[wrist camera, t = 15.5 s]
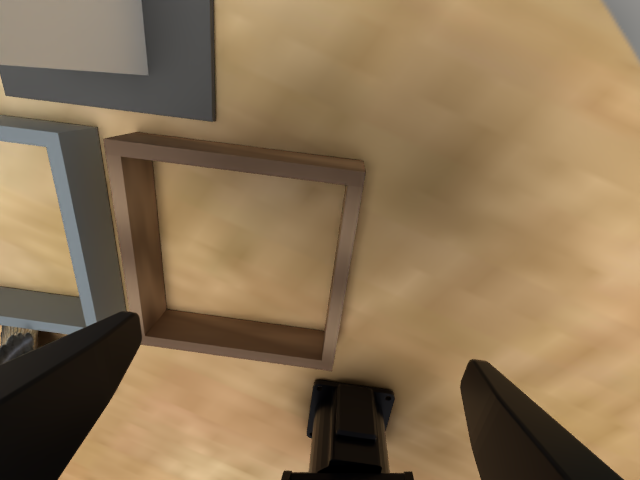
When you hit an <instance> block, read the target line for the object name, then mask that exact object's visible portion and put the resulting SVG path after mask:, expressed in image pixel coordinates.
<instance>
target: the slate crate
mask: <svg viewBox="0 0 640 480" xmlns="http://www.w3.org/2000/svg"><path fill="white" fill-rule="evenodd" d="M0 141H5V142H12V143H20V144H28V145H36V146H44V147H46V148H47V153H48V157H49V162H50V166H51V171H52V175H53V180H54V184H55V188H56V193H57V197H58V202H59V206H60V211H61V215H62V220H63V224H64V229H65V233H66V238H67V242H68V247H69V251H70V256H71V260H72V265H73V269H74V274H75V278H76V283H77V287H78V291H79V296H80V298H79V297H72V296H65V295H58V294H50V293H43V292H36V291H28V290H21V289H14V288H6V287H0V325H4V326H11V327H19V328H26V329H33V330H40V331H47V332H54V333H62V334H71V333H73V332H75V331H78V330H80V329H82V328H84V327H87V326H89V325H91V324H93V323H96V322H98V321H100V320H102V319H105V318H107V317H109V316H111V315H114V314H116V313H118V312H121V311H126V307H125V301H124V294H123V288H122V282H121V275H120V269H119V262H118V256H117V250H116V243H115V237H114V231H113V224H112V218H111V212H110V205H109V199H108V193H107V186H106V180H105V174H104V167H103V161H102V155H101V148H100V142H99V136H98V129H97V127H92V126H85V125H77V124H69V123H61V122H53V121H45V120H37V119H29V118H21V117H13V116H6V115H0Z"/></svg>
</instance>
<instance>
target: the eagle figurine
mask: <svg viewBox="0 0 640 480" xmlns="http://www.w3.org/2000/svg"><path fill="white" fill-rule="evenodd" d="M38 331H39V330H33V329H26V328H19V327H11V326H4V325H2V332H1V346H0V365H1V364H3V363H5V362H8V361H10V360H12V359H14V358H17V357H19V356H21V355H23V354H26V353H28V352H30V351H32V350H35V349H37V348H38Z"/></svg>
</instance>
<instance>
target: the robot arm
mask: <svg viewBox="0 0 640 480" xmlns="http://www.w3.org/2000/svg"><path fill="white" fill-rule="evenodd" d="M141 341H142V332H141V324H140V318H139V315H138V314H137V313H135V312H128V311H121V312H118V313H116V314H114V315H111V316H109V317H107V318H105V319H102V320H100V321H98V322H96V323H93V324H91V325H89V326H87V327H84V328H82V329H80V330H78V331H75V332H73V333H71V334H69V335H66V336H64V337H62V338H60V339H57V340H55V341H53V342H51V343H48V344H46V345H44V346H42V347H39V348H37V349H35V350H32V351H30V352H28V353H26V354H23V355H21V356H19V357H17V358H14V359H12V360H10V361H8V362H5V363H3V364H1V365H0V480H58V478H59V477H60V475H61V474H62V472H63V471H64V469H65V468H66V466H67V465H68V463H69V462H70V460H71V459H72V457H73V456H74V454H75V453H76V451H77V450H78V448H79V447H80V445H81V444H82V442H83V441H84V439H85V438H86V436H87V435H88V433H89V432H90V430H91V429H92V427H93V426H94V424H95V423H96V421H97V420H98V418H99V417H100V415H101V414H102V412H103V411H104V409H105V408H106V406H107V405H108V403H109V402H110V400H111V398H112V397H113V395H114V393H115V392H116V390H117V388H118V386H119V384H120V382H121V380H122V379H123V377H124V375H125V373H126V371H127V369H128V367H129V365H130V364H131V362H132V360H133V358H134V356H135V354H136V352H137V350H138V349H139V347H140V345H141ZM318 386H320V387H318ZM460 388H461V395H462V400H463V405H464V410H465V416H466V421H467V426H468V431H469V437H470V441H471V446H472V450H473V454H474V457H475V461H476V464H477V468H478V471H479V474H480V478H481V480H624V479H623V478H621V477H620V476H619V475H618V474H617V473H616V472H614V471H613V470H612V469H611V468H610V467H609V466H608V465H606V464H605V463H604V462H603V461H602V460H601V459H599V458H598V457H597V456H596V455H595V454H594V453H592V452H591V451H590V450H589V449H588V448H587V447H586V446H584V445H583V444H582V443H581V442H580V441H579V440H577V439H576V438H575V437H574V436H573V435H572V434H571V433H569V432H568V431H567V430H566V429H565V428H564V427H562V426H561V425H560V424H559V423H558V422H557V421H556V420H554V419H553V418H552V417H551V416H550V415H549V414H547V413H546V412H545V411H544V410H543V409H542V408H541V407H539V406H538V405H537V404H536V403H535V402H534V401H532V400H531V399H530V398H529V397H528V396H527V395H526V394H524V393H523V392H522V391H521V390H520V389H519V388H517V387H516V386H515V385H514V384H513V383H512V382H511V381H509V380H508V379H507V378H506V377H505V376H504V375H502V374H501V373H500V372H499V371H498V370H497V369H496V368H494V367H493V366H492V365H491V364H490V363H488V362H487V361H483V360H476V359H472V360H470V361H469V363H468V365H467V367H466V370H465V372H464V375H463V377H462V380H461V385H460ZM394 399H395V397H394V393H393V391H391V390H387V389H380V388H373V387H366V386H359V385H352V384H345V383H337V382H330V381H323V380H317V381H315V382H314V385H313V392H312V399H311V406H310V413H309V420H308V427H307V436H308V437H309V438H312V444H311V454H310V464H309V473H308V472H292V471H284V472H283V475H282V479H281V480H414V478H413V473H412V472H404V473H390V470H389V461H388V452H387V444H386V435H385V431H386V427H387V424H388V420H389V417H390V413H391V410H392V406H393V403H394Z"/></svg>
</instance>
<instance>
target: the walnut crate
mask: <svg viewBox="0 0 640 480" xmlns="http://www.w3.org/2000/svg"><path fill="white" fill-rule="evenodd" d="M103 140H104V147H105V153H106V160H107V166H108V173H109V180H110V186H111V193H112V199H113V206H114V212H115V219H116V225H117V232H118V239H119V245H120V252H121V258H122V265H123V271H124V278H125V284H126V291H127V298H128V304H129V311H130V312H135V313H137V314H138V315H139V318H140V324H141V332H142V341H141V345H148V346H155V347H162V348H169V349H176V350H184V351H191V352H198V353H205V354H212V355H219V356H227V357H234V358H241V359H248V360H255V361H262V362H270V363H277V364H284V365H291V366H298V367H305V368H313V369H320V370H327V371H332V369H333V363H334V357H335V351H336V345H337V340H338V334H339V328H340V322H341V316H342V310H343V304H344V298H345V292H346V286H347V281H348V275H349V269H350V263H351V257H352V251H353V245H354V239H355V233H356V227H357V222H358V216H359V210H360V204H361V198H362V192H363V186H364V180H365V174H366V171H365V166H364V162H363V161H361V160H353V159H345V158H337V157H329V156H321V155H314V154H306V153H298V152H290V151H282V150H274V149H266V148H258V147H250V146H242V145H235V144H227V143H219V142H211V141H203V140H195V139H187V138H179V137H171V136H164V135H156V134H148V133H140V132H134V133H129V134H125V135H120V136H115V137H110V138H105V139H103ZM152 160H153V161H161V162H168V163H176V164H184V165H192V166H200V167H207V168H215V169H223V170H231V171H239V172H246V173H254V174H262V175H270V176H278V177H285V178H293V179H301V180H309V181H317V182H324V183H332V184H340V185H346V188H345V194H344V201H343V208H342V215H341V222H340V228H339V235H338V242H337V249H336V256H335V262H334V269H333V276H332V283H331V290H330V297H329V303H328V310H327V317H326V324H325V331H320V330H313V329H306V328H298V327H291V326H284V325H276V324H269V323H262V322H255V321H247V320H240V319H233V318H225V317H218V316H211V315H203V314H196V313H189V312H182V311H174V310H167V308H166V298H165V288H164V277H163V267H162V257H161V246H160V236H159V225H158V215H157V205H156V194H155V184H154V173H153V163H152Z"/></svg>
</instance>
